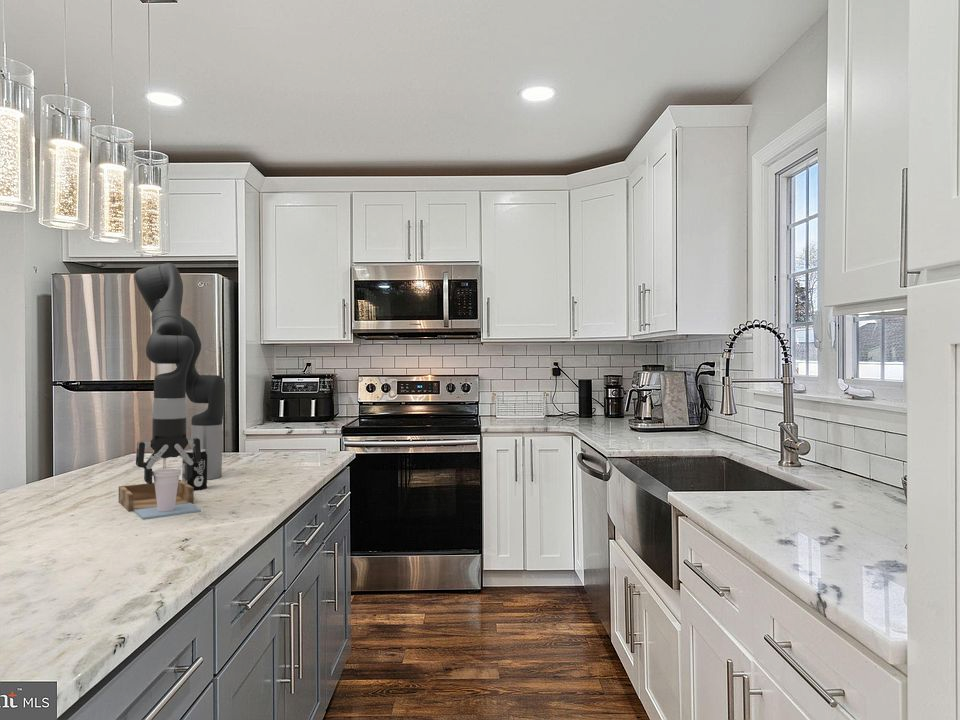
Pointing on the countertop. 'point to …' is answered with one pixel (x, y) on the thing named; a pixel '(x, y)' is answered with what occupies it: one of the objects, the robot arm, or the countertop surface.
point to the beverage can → (197, 471)
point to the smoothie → (166, 487)
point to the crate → (151, 495)
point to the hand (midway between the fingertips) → (168, 481)
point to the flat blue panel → (154, 513)
